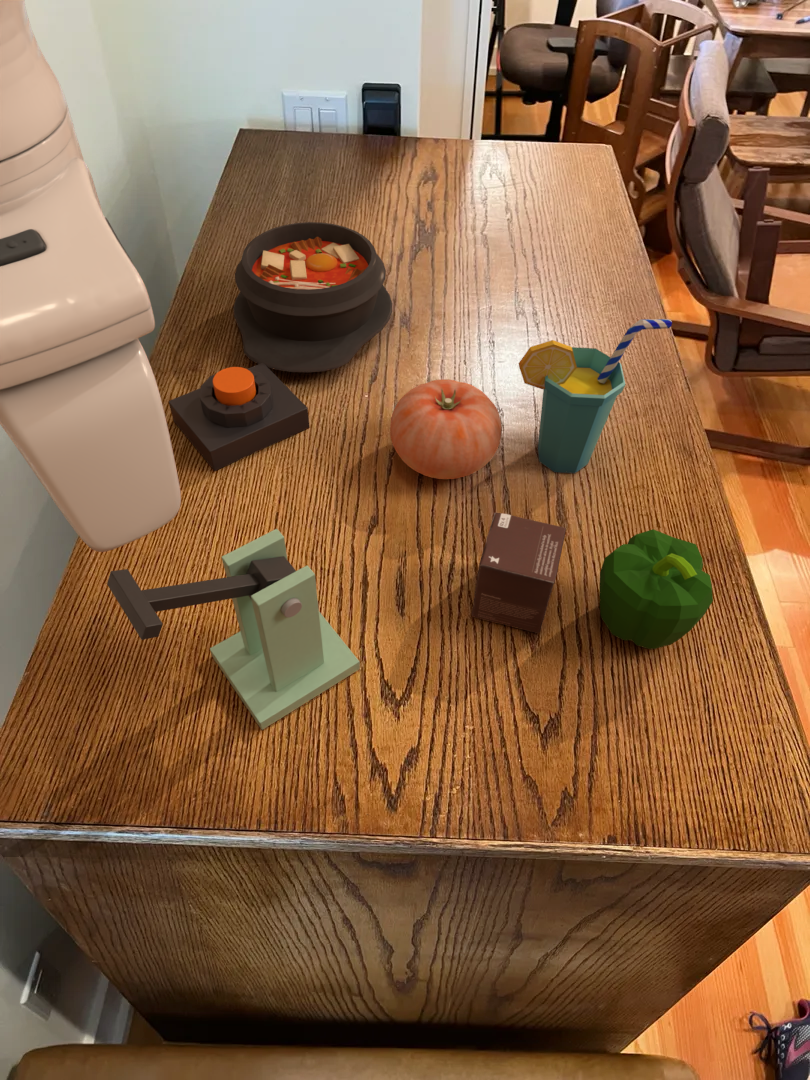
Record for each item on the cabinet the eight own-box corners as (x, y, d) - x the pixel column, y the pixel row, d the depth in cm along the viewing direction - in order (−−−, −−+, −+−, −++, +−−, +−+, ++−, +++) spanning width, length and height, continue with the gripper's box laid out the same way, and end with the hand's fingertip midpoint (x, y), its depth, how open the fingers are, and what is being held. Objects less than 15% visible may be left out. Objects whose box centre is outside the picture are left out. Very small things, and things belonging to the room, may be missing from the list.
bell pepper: (577, 584, 67) (603, 508, 60) (669, 580, 68) (705, 504, 60) (600, 668, 62) (631, 596, 54) (699, 662, 63) (743, 591, 55)
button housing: (214, 471, 75) (206, 437, 72) (173, 421, 80) (163, 386, 76) (309, 427, 79) (306, 393, 76) (265, 382, 84) (260, 348, 80)
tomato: (418, 511, 72) (421, 449, 66) (372, 439, 79) (371, 376, 72) (517, 477, 76) (529, 415, 69) (465, 411, 82) (472, 348, 76)
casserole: (377, 394, 83) (377, 328, 77) (209, 378, 84) (195, 311, 78) (403, 269, 99) (405, 206, 93) (262, 257, 100) (253, 194, 94)
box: (539, 636, 64) (554, 584, 58) (469, 618, 65) (477, 565, 59) (552, 580, 68) (567, 526, 62) (485, 564, 69) (495, 509, 63)
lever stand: (261, 730, 58) (237, 639, 48) (211, 656, 62) (179, 557, 52) (360, 669, 61) (356, 572, 52) (306, 602, 65) (293, 501, 56)
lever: (138, 648, 45) (148, 618, 44) (104, 592, 48) (112, 562, 46) (300, 614, 54) (311, 589, 52) (263, 568, 56) (274, 543, 55)
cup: (611, 415, 82) (650, 290, 70) (650, 464, 77) (697, 339, 66) (492, 443, 79) (511, 317, 67) (524, 495, 74) (551, 370, 62)
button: (227, 411, 75) (224, 397, 73) (208, 390, 77) (205, 376, 75) (263, 396, 76) (261, 382, 75) (243, 375, 78) (241, 361, 77)
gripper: (-195, 124, 31) (-48, 391, 42) (-41, 390, 21) (102, 654, 32) (-36, 90, 34) (65, 350, 44) (172, 313, 23) (238, 582, 34)
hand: (82, 479), depth 38 cm, fingers closed
